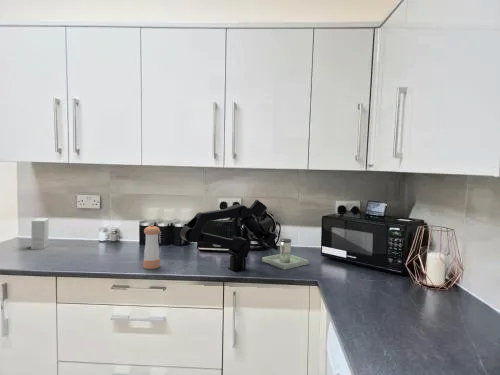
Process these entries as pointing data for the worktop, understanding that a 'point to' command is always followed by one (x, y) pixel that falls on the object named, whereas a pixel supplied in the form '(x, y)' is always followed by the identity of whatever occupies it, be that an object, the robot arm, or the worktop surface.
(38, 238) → the skincare box
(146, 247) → the pepper shaker
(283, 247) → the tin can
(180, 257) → the worktop surface
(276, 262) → the tray
